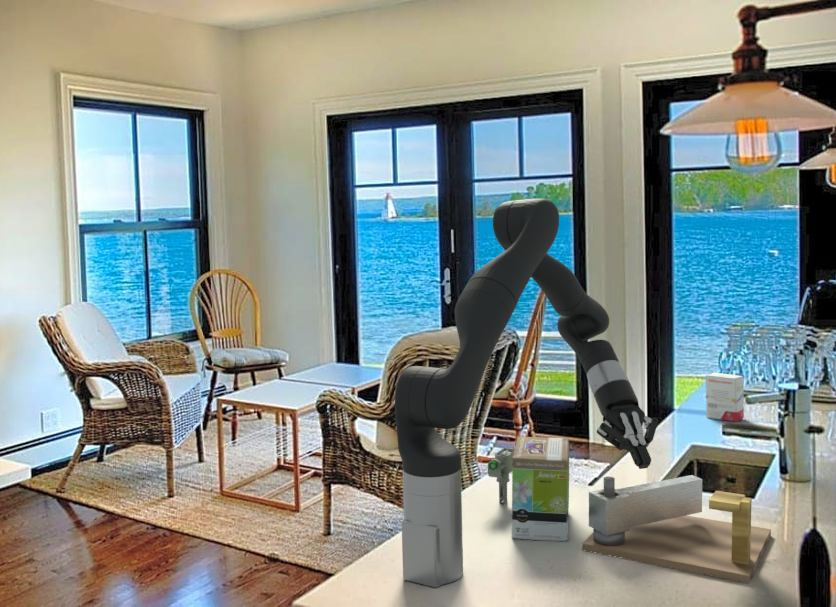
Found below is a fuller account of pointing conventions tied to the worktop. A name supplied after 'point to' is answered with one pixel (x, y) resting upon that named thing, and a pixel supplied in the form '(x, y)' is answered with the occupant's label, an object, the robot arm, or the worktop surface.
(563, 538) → the tea box
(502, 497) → the mechanical component
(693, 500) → the link
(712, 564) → the latch board
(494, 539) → the worktop surface
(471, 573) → the worktop surface
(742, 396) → the ink box
